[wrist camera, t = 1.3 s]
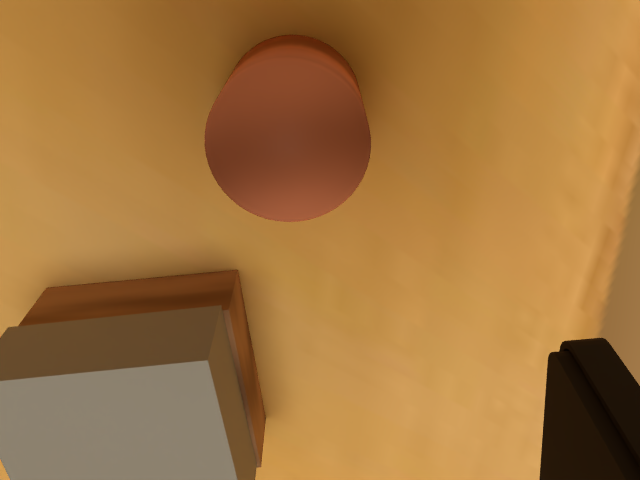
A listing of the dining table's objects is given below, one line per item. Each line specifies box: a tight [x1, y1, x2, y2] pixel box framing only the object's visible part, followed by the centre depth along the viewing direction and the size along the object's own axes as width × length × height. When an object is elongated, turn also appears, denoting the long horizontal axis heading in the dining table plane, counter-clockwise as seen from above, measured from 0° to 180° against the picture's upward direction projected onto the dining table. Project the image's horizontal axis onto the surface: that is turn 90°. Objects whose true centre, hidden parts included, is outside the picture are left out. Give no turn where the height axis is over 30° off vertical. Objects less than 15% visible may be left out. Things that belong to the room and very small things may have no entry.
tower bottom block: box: [19, 270, 266, 467], centre depth 32 cm, size 10×10×4 cm
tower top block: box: [0, 305, 257, 480], centre depth 29 cm, size 10×10×4 cm
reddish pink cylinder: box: [205, 35, 371, 222], centre depth 25 cm, size 6×6×6 cm
